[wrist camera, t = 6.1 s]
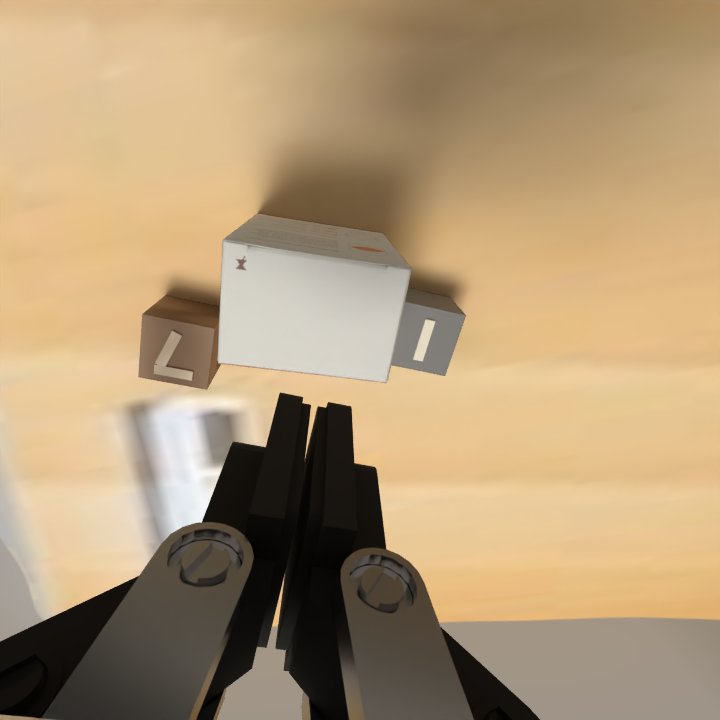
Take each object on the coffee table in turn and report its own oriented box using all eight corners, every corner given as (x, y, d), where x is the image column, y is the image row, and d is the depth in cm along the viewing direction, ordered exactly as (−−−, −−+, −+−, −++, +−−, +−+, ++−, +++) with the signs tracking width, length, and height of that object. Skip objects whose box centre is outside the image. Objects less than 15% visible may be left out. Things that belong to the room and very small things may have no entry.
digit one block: (450, 297, 31) (466, 316, 27) (432, 351, 32) (445, 377, 29) (392, 283, 30) (401, 301, 26) (376, 339, 32) (383, 364, 28)
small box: (249, 299, 30) (210, 365, 20) (256, 210, 28) (216, 237, 18) (371, 317, 31) (388, 388, 21) (386, 232, 29) (414, 268, 19)
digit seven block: (228, 308, 30) (214, 329, 26) (221, 363, 32) (206, 390, 28) (165, 295, 30) (141, 315, 26) (161, 351, 31) (137, 378, 27)
